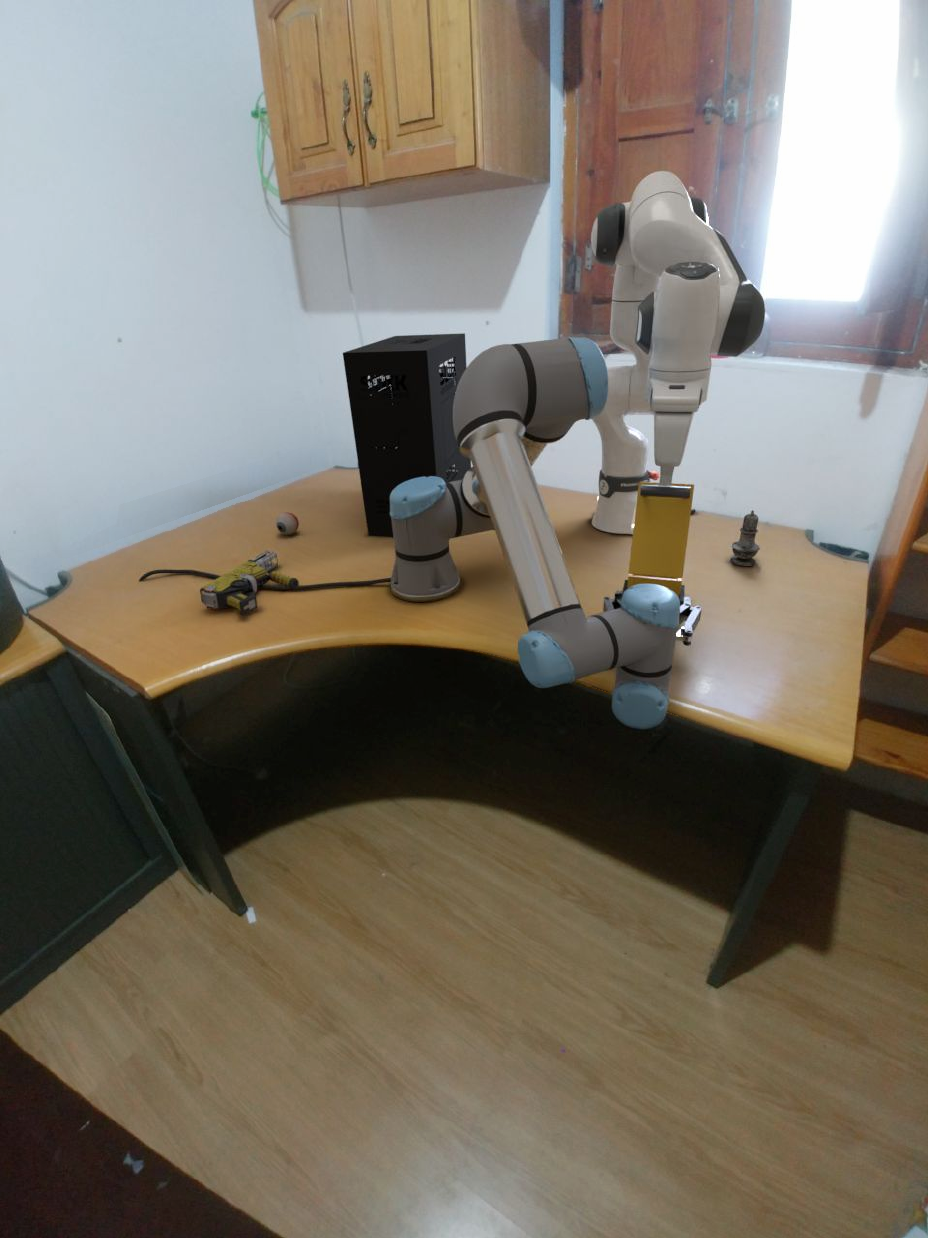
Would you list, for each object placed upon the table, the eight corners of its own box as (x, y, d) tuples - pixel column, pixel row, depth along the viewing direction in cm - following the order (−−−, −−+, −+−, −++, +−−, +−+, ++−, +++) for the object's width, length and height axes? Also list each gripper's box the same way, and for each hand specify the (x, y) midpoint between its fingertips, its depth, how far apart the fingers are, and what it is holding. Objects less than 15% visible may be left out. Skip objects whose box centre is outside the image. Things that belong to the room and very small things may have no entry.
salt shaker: (759, 566, 133) (770, 515, 127) (731, 565, 134) (740, 514, 128) (754, 555, 138) (764, 505, 132) (726, 555, 139) (735, 505, 133)
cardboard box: (441, 538, 157) (426, 350, 134) (368, 534, 161) (342, 352, 139) (472, 491, 188) (464, 333, 166) (410, 490, 193) (395, 335, 170)
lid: (639, 482, 108) (637, 475, 99) (694, 485, 105) (697, 478, 96) (628, 573, 109) (626, 574, 101) (682, 578, 107) (684, 579, 98)
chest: (630, 590, 127) (635, 543, 122) (676, 594, 124) (683, 546, 119) (623, 626, 115) (628, 576, 109) (674, 632, 112) (681, 581, 106)
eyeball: (273, 537, 164) (268, 516, 161) (287, 528, 169) (282, 508, 166) (291, 539, 161) (286, 518, 158) (305, 530, 166) (301, 510, 163)
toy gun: (318, 559, 142) (264, 548, 146) (255, 602, 122) (194, 588, 125) (320, 577, 144) (266, 565, 148) (258, 622, 124) (198, 608, 128)
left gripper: (574, 663, 100) (593, 600, 118) (716, 682, 93) (712, 612, 112) (576, 624, 96) (595, 565, 114) (724, 641, 90) (719, 576, 108)
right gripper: (658, 376, 100) (649, 459, 107) (651, 401, 83) (641, 497, 90) (698, 376, 98) (687, 460, 105) (699, 401, 81) (685, 500, 88)
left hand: (653, 588), depth 113 cm, fingers closed on chest, 9 cm apart
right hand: (666, 478), depth 97 cm, fingers open, 5 cm apart
